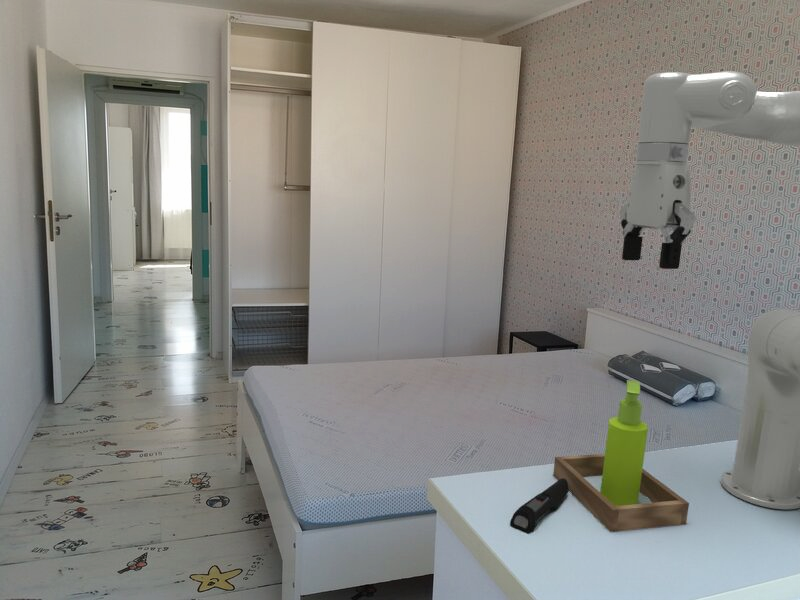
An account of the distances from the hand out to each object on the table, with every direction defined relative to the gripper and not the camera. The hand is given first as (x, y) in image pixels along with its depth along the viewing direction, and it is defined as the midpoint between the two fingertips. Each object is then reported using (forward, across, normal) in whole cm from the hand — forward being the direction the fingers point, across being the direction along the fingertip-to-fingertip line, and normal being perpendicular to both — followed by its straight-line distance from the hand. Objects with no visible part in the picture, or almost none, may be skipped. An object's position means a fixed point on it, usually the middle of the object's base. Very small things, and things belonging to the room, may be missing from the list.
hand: (649, 264), depth 103 cm
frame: (+38, -5, +5) cm, 39 cm away
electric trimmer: (+38, -7, +20) cm, 43 cm away
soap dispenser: (+38, -6, +5) cm, 39 cm away
